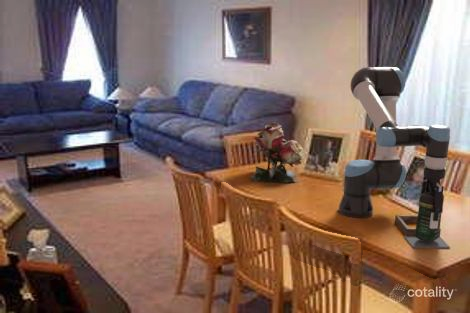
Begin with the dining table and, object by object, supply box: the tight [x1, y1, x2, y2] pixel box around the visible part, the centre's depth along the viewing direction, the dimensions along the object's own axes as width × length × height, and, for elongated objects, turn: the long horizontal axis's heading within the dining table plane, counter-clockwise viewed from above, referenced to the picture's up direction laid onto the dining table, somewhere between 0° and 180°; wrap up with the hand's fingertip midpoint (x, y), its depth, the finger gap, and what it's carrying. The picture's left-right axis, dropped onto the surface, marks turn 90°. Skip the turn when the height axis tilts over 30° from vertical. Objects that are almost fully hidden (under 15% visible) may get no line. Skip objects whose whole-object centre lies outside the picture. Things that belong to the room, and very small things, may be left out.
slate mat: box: [403, 235, 451, 249], centre depth 195 cm, size 14×10×1 cm
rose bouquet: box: [250, 122, 306, 184], centre depth 276 cm, size 26×29×30 cm
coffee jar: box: [415, 191, 445, 242], centre depth 192 cm, size 10×8×19 cm
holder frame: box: [394, 214, 441, 237], centre depth 208 cm, size 13×15×3 cm
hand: (428, 223), depth 193 cm, fingers closed on coffee jar, 9 cm apart
